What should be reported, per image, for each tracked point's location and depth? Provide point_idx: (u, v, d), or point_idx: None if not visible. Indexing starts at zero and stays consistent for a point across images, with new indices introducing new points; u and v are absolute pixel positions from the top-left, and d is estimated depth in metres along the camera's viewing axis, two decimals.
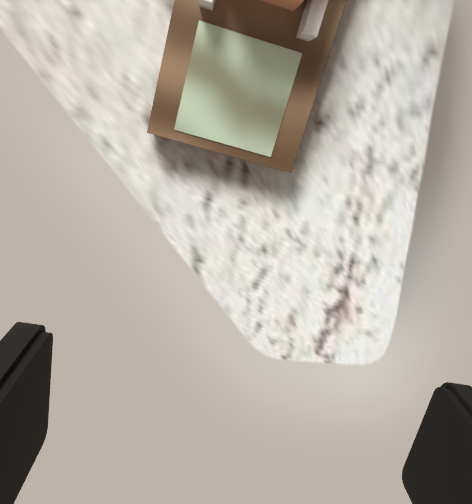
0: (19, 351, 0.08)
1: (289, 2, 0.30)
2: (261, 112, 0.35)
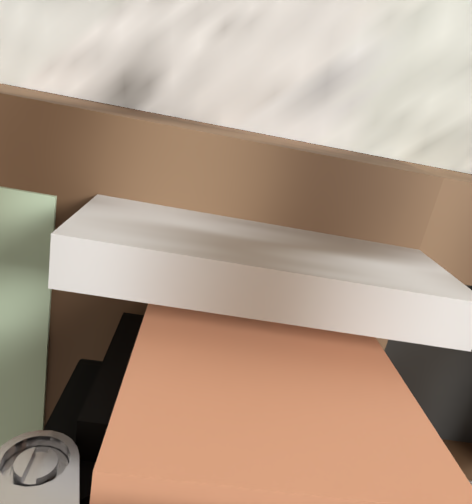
0: (135, 337, 0.10)
1: None
2: None
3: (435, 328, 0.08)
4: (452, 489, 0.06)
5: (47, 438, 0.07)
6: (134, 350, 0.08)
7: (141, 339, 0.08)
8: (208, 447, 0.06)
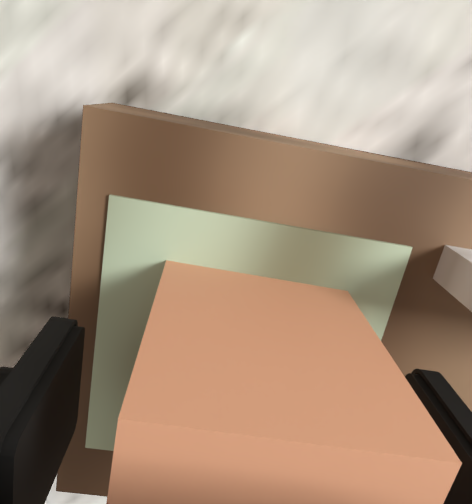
0: (57, 343, 0.09)
1: None
2: None
3: None
4: (430, 443, 0.07)
5: None
6: (148, 324, 0.08)
7: (154, 315, 0.09)
8: (216, 403, 0.07)
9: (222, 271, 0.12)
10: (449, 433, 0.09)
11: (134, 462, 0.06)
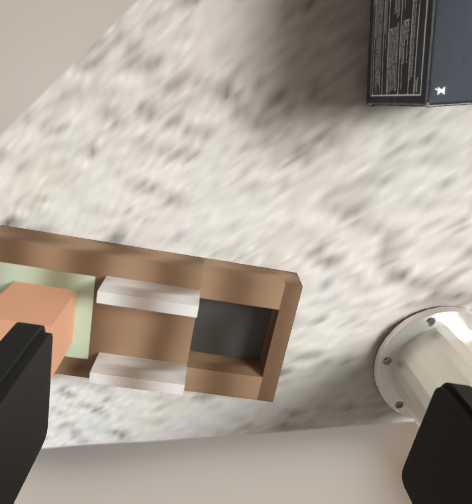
0: (19, 351, 0.08)
1: None
2: None
3: (186, 312, 0.34)
4: (48, 323, 0.31)
5: None
6: None
7: None
8: (1, 314, 0.31)
9: (32, 284, 0.36)
10: None
11: None
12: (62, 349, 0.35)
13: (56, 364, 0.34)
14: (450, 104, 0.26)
